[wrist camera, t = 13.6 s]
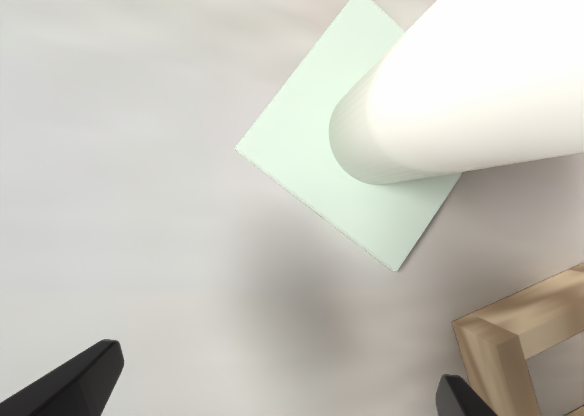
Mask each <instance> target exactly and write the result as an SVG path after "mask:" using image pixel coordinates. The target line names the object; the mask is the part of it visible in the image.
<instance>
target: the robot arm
mask: <svg viewBox="0 0 584 416" xmlns="http://www.w3.org/2000/svg"><path fill="white" fill-rule="evenodd" d="M123 366H124V358H123V354H122V350H121V346H120V343H119V342H118V341H117V340H110V339H104V340H101V341H99V342H98V343H96V344H94V345H93V346H91V347H90V348H88V349H86V350H85V351H83V352H82V353H80V354H78V355H77V356H75V357H74V358H72V359H70V360H69V361H67V362H66V363H64V364H62V365H61V366H59V367H57V368H56V369H54V370H53V371H51V372H49V373H48V374H46V375H45V376H43V377H41V378H40V379H38V380H37V381H35V382H33V383H32V384H30V385H28V386H27V387H25V388H24V389H22V390H20V391H19V392H17V393H16V394H14V395H12V396H11V397H9V398H8V399H6V400H4V401H3V402H1V403H0V416H101V414H102V412H103V410H104V407H105V405H106V403H107V401H108V399H109V397H110V395H111V393H112V391H113V389H114V386H115V384H116V382H117V380H118V378H119V376H120V374H121V372H122V369H123ZM436 406H437V411H438V415H439V416H498V415H497V414H496V413H495V412H494V411H493V410H492V409H491V408H490V407H489V406H488V405H487V403H486V402H485V401H484V400H483V399H482V398H481V397H480V396H479V395H478V394H477V393H476V392H475V391H474V390H473V389H472V388H471V387H470V386H469V385H468V384H467V383H466V381H465V380H464V379H463V378H461V377H460V376H458V375H450V374H444V375H442V377H441V380H440V383H439V386H438V389H437V393H436Z"/></svg>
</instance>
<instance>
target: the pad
mask: <svg viewBox="0 0 584 416" xmlns="http://www.w3.org/2000/svg"><path fill="white" fill-rule="evenodd" d="M404 34H405V31H404V30H403V29H402V28H401V27H400V26H399V25H397V24H396V23H395V22H394V21H393V20H392V19H391V18H390V17H389V16H388V15H387V14H386V13H385V12H384V11H383V10H381V9H380V8H379V7H378V6H377V5H376V4H375V3H374V2H373V1H372V0H350V1H349V2H348V3H347V4H346V6H345V7H344V8H343V10H342V11H341V12H340V13H339V15H338V16H337V17H336V19H335V20H334V21H333V22H332V24H331V25H330V26H329V28H328V29H327V30H326V31H325V33H324V34H323V35H322V37H321V38H320V39H319V40H318V42H317V43H316V44H315V46H314V47H313V48H312V49H311V51H310V52H309V53H308V55H307V56H306V57H305V58H304V60H303V61H302V62H301V64H300V65H299V66H298V67H297V69H296V70H295V71H294V73H293V74H292V75H291V76H290V78H289V79H288V80H287V82H286V83H285V84H284V85H283V87H282V88H281V89H280V91H279V92H278V93H277V94H276V96H275V97H274V98H273V99H272V101H271V102H270V103H269V105H268V106H267V107H266V108H265V110H264V111H263V112H262V114H261V115H260V116H259V117H258V119H257V120H256V121H255V123H254V124H253V125H252V126H251V128H250V129H249V130H248V132H247V133H246V134H245V135H244V137H243V138H242V139H241V141H240V142H239V143H238V144H237V146H236V147H235V151H236V152H237V153H239V154H240V155H241V156H243V157H244V158H245V159H246V160H248V161H249V162H250V163H252V164H253V165H254V166H256V167H257V168H258V169H260V170H261V171H262V172H263V173H265V174H266V175H267V176H269V177H270V178H271V179H273V180H274V181H275V182H276V183H278V184H279V185H280V186H282V187H283V188H284V189H286V190H287V191H288V192H289V193H291V194H292V195H293V196H295V197H296V198H297V199H299V200H300V201H301V202H303V203H304V204H305V205H306V206H308V207H309V208H310V209H312V210H313V211H314V212H316V213H317V214H318V215H319V216H321V217H322V218H323V219H325V220H326V221H327V222H329V223H330V224H331V225H332V226H334V227H335V228H336V229H338V230H339V231H340V232H342V233H343V234H344V235H346V236H347V237H348V238H349V239H351V240H352V241H353V242H355V243H356V244H357V245H359V246H360V247H361V248H362V249H364V250H365V251H366V252H368V253H369V254H370V255H372V256H373V257H374V258H375V259H377V260H378V261H379V262H381V263H382V264H383V265H385V266H386V267H387V268H389V269H390V270H392V271H395V272H397V270H398V269H399V268H400V266H401V265H402V263H403V262H404V260H405V259H406V257H407V256H408V254H409V253H410V251H411V250H412V248H413V247H414V245H415V244H416V242H417V241H418V239H419V238H420V236H421V235H422V233H423V232H424V230H425V229H426V227H427V226H428V224H429V223H430V221H431V220H432V218H433V217H434V215H435V214H436V212H437V211H438V209H439V208H440V206H441V205H442V203H443V202H444V200H445V199H446V197H447V196H448V194H449V193H450V191H451V190H452V188H453V187H454V185H455V184H456V182H457V181H458V179H459V178H460V176H461V175H462V174H463V172H458V173H452V174H446V175H440V176H433V177H427V178H421V179H414V180H408V181H402V182H396V183H389V184H382V185H373V184H367V183H364V182H361V181H359V180H357V179H355V178H353V177H352V176H350V175H349V174H348V173H347V172H345V171H344V170H343V169H342V167H341V166H340V165H339V164H338V162H337V160H336V159H335V157H334V155H333V153H332V150H331V147H330V142H329V123H330V118H331V115H332V112H333V110H334V108H335V106H336V105H337V103H338V102H339V100H340V99H341V98H342V97H343V96H344V95H345V94H346V93H347V92H348V91H349V90H350V89H351V88H352V87H353V86H354V85H355V84H356V83H357V82H358V81H359V80H360V79H361V78H362V76H363V75H364V74H365V73H366V72H367V71H368V70H369V69H370V68H371V67H372V66H373V65H374V64H375V63H376V62H377V61H378V60H379V59H380V58H381V57H382V56H383V55H384V54H385V53H386V52H387V51H388V50H389V49H390V48H391V47H392V46H393V45H394V44H395V43H396V42H397V41H398V40H399V39H400V38H401V37H402V36H403V35H404Z"/></svg>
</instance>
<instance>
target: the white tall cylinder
mask: <svg viewBox="0 0 584 416" xmlns="http://www.w3.org/2000/svg"><path fill="white" fill-rule="evenodd" d="M329 142H330V147H331V150H332V153H333V155H334V157H335V159H336V160H337V162H338V164H339V165H340V166H341V167H342V169H343V170H344V171H345V172H347V173H348V174H349V175H350V176H352V177H353V178H355V179H357V180H359V181H361V182H364V183H367V184H373V185H382V184H389V183H396V182H402V181H408V180H414V179H421V178H427V177H433V176H440V175H446V174H452V173H458V172H465V171H471V170H477V169H484V168H490V167H496V166H502V165H509V164H515V163H521V162H528V161H534V160H540V159H546V158H553V157H559V156H565V155H572V154H578V153H584V0H437V1H436V2H435V3H434V4H433V5H432V6H431V7H430V8H429V9H428V10H427V11H426V12H425V13H424V14H423V15H422V16H421V17H420V18H419V19H418V20H417V21H416V22H415V23H414V24H413V25H412V26H411V27H410V28H409V29H408V30H407V31H406V32H405V34H404V35H403V36H402V37H401V38H400V39H399V40H398V41H397V42H396V43H395V44H394V45H393V46H392V47H391V48H390V49H389V50H388V51H387V52H386V53H385V54H384V55H383V56H382V57H381V58H380V59H379V60H378V61H377V62H376V63H375V64H374V65H373V66H372V67H371V68H370V69H369V70H368V71H367V72H366V73H365V74H364V75H363V76H362V78H361V79H360V80H359V81H358V82H357V83H356V84H355V85H354V86H353V87H352V88H351V89H350V90H349V91H348V92H347V93H346V94H345V95H344V96H343V97H342V98H341V99H340V100H339V102H338V103H337V105H336V106H335V108H334V110H333V112H332V115H331V118H330V123H329Z"/></svg>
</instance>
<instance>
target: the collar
mask: <svg viewBox="0 0 584 416" xmlns="http://www.w3.org/2000/svg"><path fill="white" fill-rule="evenodd" d="M452 325H453V328H454V332H455V335H456V338H457V342H458V345H459V348H460V352H461V355H462V359H463V362H464V365H465V369H466V372H467V375H468V379H469V382H470V386H471V388H472V389H473V390H474V391H475V392H476V393H477V394H478V395H479V396H480V397H481V398H482V399H483V400H484V401H485V402H486V403H487V405H488V406H489V407H490V408H491V409H492V410H493V411H494V412H495V413H496V414H497V415H498V416H541V414H540V410H539V407H538V403H537V400H536V396H535V392H534V389H533V385H532V382H531V378H530V375H529V371H528V368H527V364H526V361H525V360H526V359H528V358H530V357H532V356H534V355H536V354H538V353H540V352H542V351H544V350H546V349H548V348H550V347H552V346H554V345H556V344H558V343H560V342H562V341H564V340H566V339H568V338H570V337H572V336H574V335H576V334H578V333H580V332H582V331H584V263H582V264H580V265H577V266H575V267H573V268H571V269H568V270H566V271H564V272H562V273H560V274H557V275H555V276H553V277H551V278H548V279H546V280H544V281H542V282H540V283H537V284H535V285H533V286H531V287H528V288H526V289H524V290H522V291H519V292H517V293H515V294H513V295H511V296H508V297H506V298H504V299H502V300H499V301H497V302H495V303H493V304H491V305H488V306H486V307H484V308H482V309H479V310H477V311H475V312H473V313H471V314H468V315H466V316H464V317H462V318H459V319H457V320H455V321H453V322H452ZM566 416H584V406H582V407H580V408H579V409H577V410H575V411H573V412H571V413H570V414H568V415H566Z"/></svg>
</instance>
